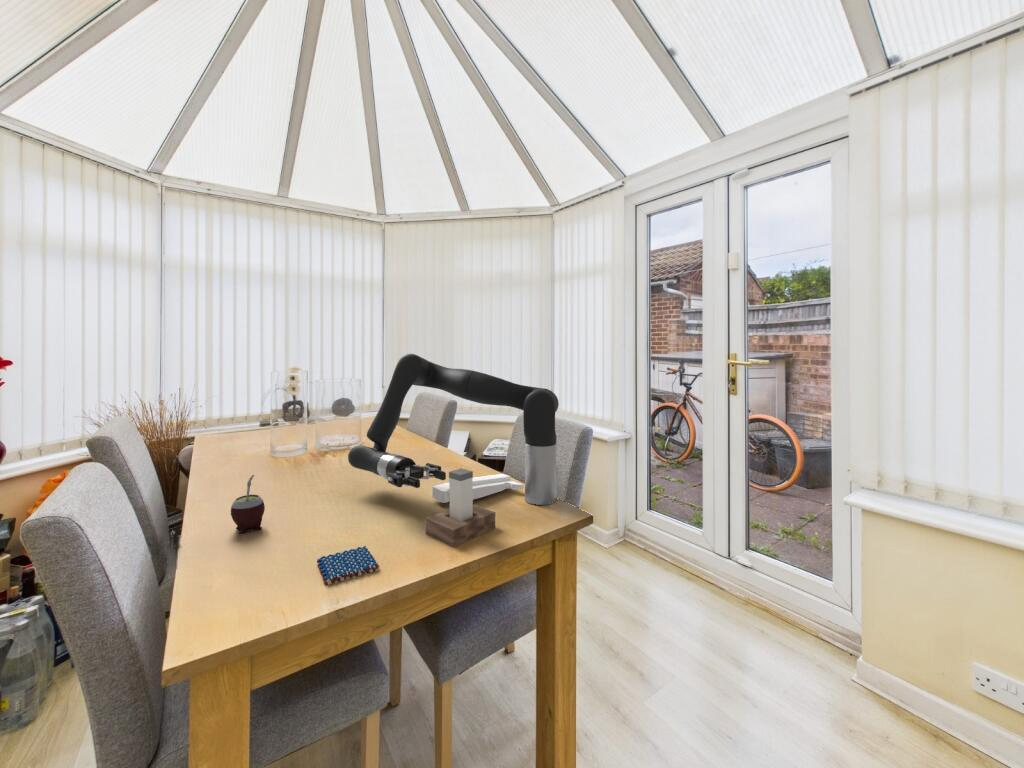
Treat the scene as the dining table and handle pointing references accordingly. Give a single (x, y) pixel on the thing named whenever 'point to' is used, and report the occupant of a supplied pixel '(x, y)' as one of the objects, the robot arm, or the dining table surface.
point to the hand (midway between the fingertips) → (432, 480)
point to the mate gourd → (248, 511)
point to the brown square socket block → (459, 526)
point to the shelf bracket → (479, 487)
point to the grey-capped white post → (461, 494)
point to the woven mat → (346, 564)
